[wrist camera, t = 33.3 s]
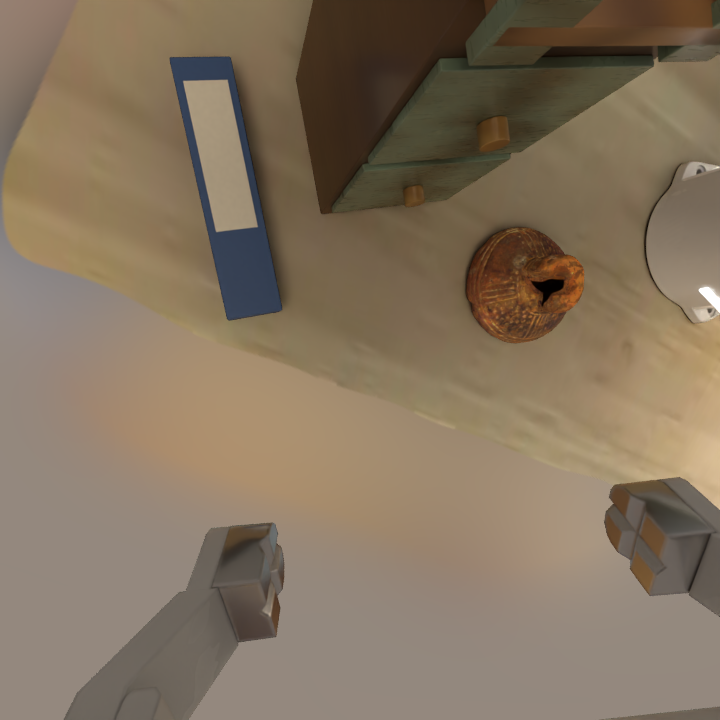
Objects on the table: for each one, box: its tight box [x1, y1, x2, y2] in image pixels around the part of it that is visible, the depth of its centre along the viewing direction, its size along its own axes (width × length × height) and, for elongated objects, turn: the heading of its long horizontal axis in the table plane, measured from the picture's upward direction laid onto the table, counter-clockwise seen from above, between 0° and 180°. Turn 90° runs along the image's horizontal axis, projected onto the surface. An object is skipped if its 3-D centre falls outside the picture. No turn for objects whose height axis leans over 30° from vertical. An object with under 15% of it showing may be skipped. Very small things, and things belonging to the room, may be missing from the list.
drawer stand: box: [296, 0, 720, 214], centre depth 24 cm, size 12×13×30 cm
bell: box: [466, 227, 584, 343], centre depth 40 cm, size 12×12×7 cm
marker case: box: [170, 57, 282, 321], centre depth 33 cm, size 4×20×3 cm, turn 10°
